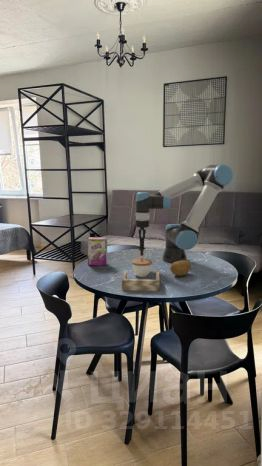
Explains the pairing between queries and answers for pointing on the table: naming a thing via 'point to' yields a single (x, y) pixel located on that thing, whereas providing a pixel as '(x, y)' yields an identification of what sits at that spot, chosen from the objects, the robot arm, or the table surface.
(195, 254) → the table surface
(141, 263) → the lidded jar
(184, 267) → the potato
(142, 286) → the bay
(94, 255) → the candy bar box
